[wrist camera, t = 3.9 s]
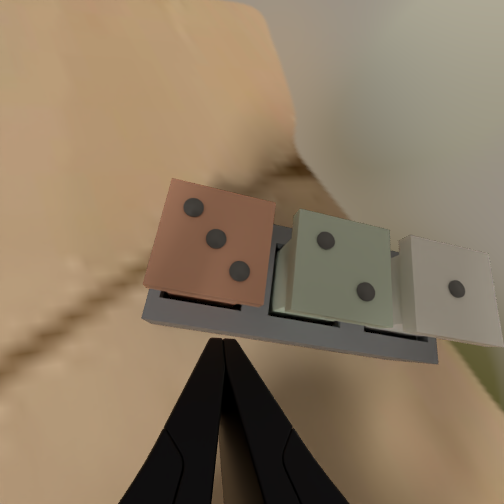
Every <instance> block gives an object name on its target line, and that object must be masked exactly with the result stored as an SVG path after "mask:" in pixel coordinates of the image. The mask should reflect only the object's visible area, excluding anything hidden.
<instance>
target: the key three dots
mask: <svg viewBox="0 0 504 504" xmlns="http://www.w3.org/2000/svg"><path fill="white" fill-rule="evenodd" d="M275 207H276V203H275V202H271V201H267V200H262V199H258V198H254V197H250V196H246V195H241V194H237V193H233V192H229V191H225V190H220V189H216V188H212V187H208V186H204V185H199V184H195V183H191V182H187V181H183V180H178V179H174V178H172V180H171V184H170V187H169V191H168V194H167V198H166V202H165V205H164V209H163V213H162V216H161V220H160V223H159V227H158V231H157V234H156V238H155V241H154V245H153V249H152V252H151V256H150V260H149V263H148V267H147V270H146V274H145V278H144V281H143V285H144V286H145V287H146V288H149V289H155V290H161V291H166V292H168V295H169V297H173V298H179V299H185V300H190V301H196V302H202V303H208V304H214V305H220V306H226V307H233V306H234V305H235V304H242V305H248V306H253V307H260V306H262V305H264V297H265V289H266V281H267V272H268V264H269V256H270V248H271V239H272V231H273V223H274V215H275Z"/></svg>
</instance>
